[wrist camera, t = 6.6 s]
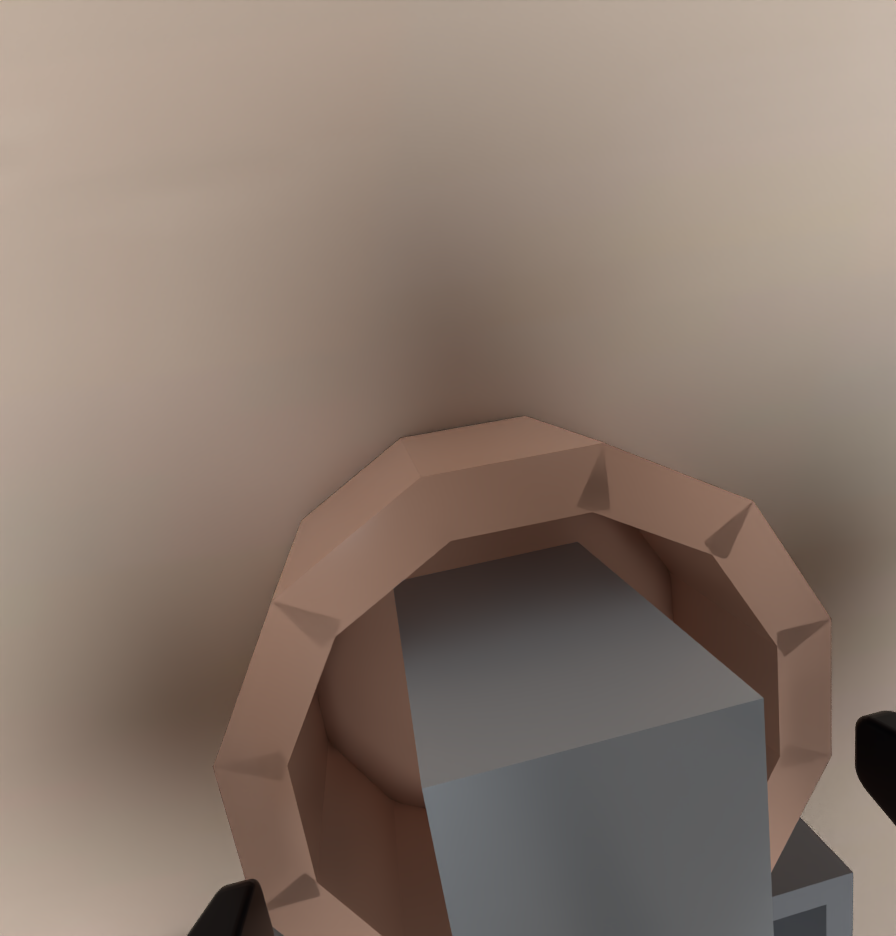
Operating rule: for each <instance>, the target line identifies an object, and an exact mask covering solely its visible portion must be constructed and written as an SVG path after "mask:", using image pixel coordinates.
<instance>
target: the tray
mask: <svg viewBox="0 0 896 936" xmlns="http://www.w3.org/2000/svg"><path fill="white" fill-rule="evenodd" d="M771 882H772V906H773V929H774V936H852V931H853V872H852V871H851V870H850V869H849V868H848V867H847V866H846V865H845V864H844V863H843V861H842V860H841V859H840V858H839V857H838V856H837V855H836V854H835V853H834V852H833V851H832V850H831V849H830V848H829V847H828V846H827V845H826V844H825V843H824V842H823V841H822V840H821V839H820V838H819V836H818V835H817V834H816V833H815V832H814V831H813V830H812V829H811V828H810V827H809V826H808V825H807V824H806V823H805V822H804V821H803V820H802V819H801V818H799V820H798V822H797V823H796V825H795V827H794V829H793V831H792V833H791V835H790V837H789V839H788V841H787V843H786V845H785V847H784V849H783V851H782V852H781V854H780V856H779V858H778V860H777V862H776V864H775V866H774V868H773V870H772V872H771ZM273 931H274V936H284V935H283V934H281V933H280V932H279V931H277V930H276V929H275V928H273Z"/></svg>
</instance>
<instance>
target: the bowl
mask: <svg viewBox="0 0 896 936" xmlns="http://www.w3.org/2000/svg"><path fill="white" fill-rule="evenodd" d="M574 542H579V543H580V544H581V545H582V546H583V547H584V548H586V549H587V550H588V551H589V552H590V553H592V554H593V555H594V556H595V557H596V558H598V559H599V560H600V561H601V562H602V563H604V564H605V565H606V566H607V567H608V568H609V569H611V570H612V571H613V572H614V573H615V574H617V575H618V576H619V577H620V578H621V579H623V580H624V581H625V582H626V583H627V584H629V585H630V586H631V587H632V588H633V589H634V590H636V591H637V592H638V593H639V594H640V595H642V596H643V597H644V598H645V599H646V600H648V601H649V602H650V603H651V604H652V605H654V606H655V607H656V608H657V609H658V610H659V611H661V612H662V613H663V614H664V615H665V616H667V617H668V618H669V619H670V620H671V621H673V622H674V623H675V624H676V625H677V626H679V627H680V628H681V629H682V630H683V631H684V632H686V633H687V634H688V635H689V636H690V637H692V638H693V639H694V640H695V641H696V642H698V643H699V644H700V645H701V646H702V647H704V648H705V649H706V650H707V651H708V652H709V653H711V654H712V655H713V656H714V657H715V658H717V659H718V660H719V661H720V662H721V663H723V664H724V665H725V666H726V667H727V668H729V669H730V670H731V671H732V672H733V673H734V674H736V675H737V676H738V677H739V678H740V679H742V680H743V681H744V682H745V683H746V684H748V685H749V686H750V687H751V688H752V689H754V690H755V691H756V692H757V693H758V694H759V695H761V696H762V697H763V698H764V718H765V742H766V765H767V789H768V812H769V836H770V859H771V872H772V870H773V868H774V866H775V864H776V862H777V860H778V858H779V856H780V854H781V852H782V851H783V849H784V847H785V845H786V843H787V841H788V839H789V837H790V835H791V833H792V831H793V829H794V827H795V825H796V823H797V822H798V820H799V818H800V816H801V814H802V812H803V810H804V808H805V806H806V804H807V802H808V800H809V798H810V796H811V795H812V793H813V791H814V789H815V787H816V785H817V783H818V781H819V779H820V777H821V775H822V773H823V771H824V769H825V767H826V766H827V764H828V762H829V760H830V758H831V756H832V746H831V618H830V616H829V614H828V613H827V611H826V610H825V608H824V607H823V605H822V604H821V602H820V601H819V599H818V598H817V596H816V595H815V593H814V592H813V590H812V589H811V587H810V586H809V584H808V583H807V581H806V580H805V578H804V577H803V575H802V574H801V572H800V571H799V569H798V568H797V566H796V565H795V563H794V562H793V560H792V558H791V557H790V555H789V554H788V552H787V551H786V549H785V548H784V546H783V545H782V543H781V542H780V540H779V539H778V537H777V536H776V534H775V533H774V531H773V530H772V528H771V527H770V525H769V524H768V522H767V521H766V519H765V518H764V516H763V515H762V513H761V512H760V510H759V509H758V507H757V506H756V504H755V502H754V501H753V500H750V499H747V498H744V497H742V496H739V495H737V494H734V493H732V492H729V491H726V490H724V489H721V488H719V487H716V486H714V485H711V484H708V483H706V482H703V481H701V480H698V479H696V478H693V477H691V476H688V475H685V474H683V473H680V472H678V471H675V470H673V469H670V468H667V467H665V466H662V465H660V464H657V463H655V462H652V461H649V460H647V459H644V458H642V457H639V456H637V455H634V454H631V453H629V452H626V451H624V450H621V449H619V448H616V447H613V446H611V445H608V444H606V443H604V442H601V441H598V440H595V439H592V438H589V437H586V436H583V435H580V434H577V433H574V432H571V431H568V430H565V429H562V428H560V427H557V426H554V425H551V424H548V423H545V422H542V421H539V420H536V419H533V418H530V417H527V416H521V417H516V418H510V419H504V420H499V421H493V422H487V423H482V424H476V425H471V426H465V427H459V428H454V429H448V430H442V431H437V432H431V433H425V434H420V435H414V436H408V437H403V438H400V439H399V440H398V441H396V442H395V443H394V444H393V445H392V446H390V447H389V448H388V449H387V450H386V451H384V452H383V453H382V454H381V455H380V456H378V457H377V458H376V459H375V460H374V461H372V462H371V463H370V464H369V465H368V466H366V467H365V468H364V469H363V470H362V471H360V472H359V473H358V474H357V475H356V476H354V477H353V478H352V479H351V480H350V481H348V482H347V483H346V484H345V485H343V486H342V487H341V488H340V489H339V490H337V491H336V492H335V493H334V494H333V495H331V496H330V497H329V498H328V499H327V500H325V501H324V502H323V503H322V504H321V505H319V506H318V507H317V508H316V509H315V510H313V511H312V512H311V513H310V514H309V515H307V516H306V517H305V518H304V519H303V520H301V522H300V525H299V528H298V530H297V533H296V536H295V539H294V541H293V544H292V547H291V549H290V552H289V555H288V557H287V560H286V563H285V566H284V568H283V571H282V574H281V576H280V579H279V582H278V584H277V587H276V590H275V593H274V595H273V598H272V601H271V604H270V607H269V610H268V613H267V615H266V618H265V621H264V624H263V627H262V630H261V632H260V635H259V638H258V641H257V644H256V647H255V649H254V652H253V655H252V658H251V661H250V664H249V667H248V669H247V672H246V675H245V678H244V681H243V684H242V686H241V689H240V692H239V695H238V698H237V701H236V703H235V706H234V709H233V712H232V715H231V718H230V720H229V723H228V726H227V729H226V732H225V735H224V738H223V740H222V743H221V746H220V749H219V752H218V754H217V757H216V760H215V763H214V765H213V769H214V772H215V776H216V779H217V783H218V786H219V789H220V793H221V796H222V800H223V803H224V807H225V810H226V814H227V817H228V821H229V824H230V827H231V831H232V834H233V838H234V841H235V845H236V848H237V852H238V855H239V859H240V862H241V866H242V869H243V872H244V876H245V879H246V880H248V879H256V880H258V882H259V883H260V885H261V888H262V891H263V895H264V898H265V902H266V906H267V909H268V913H269V916H270V920H271V923H272V927H273V928H275V929H276V930H277V931H279V932H280V933H281V934H283V935H284V936H452V932H451V927H450V922H449V918H448V913H447V908H446V903H445V898H444V893H443V889H442V884H441V879H440V874H439V869H438V864H437V860H436V855H435V850H434V845H433V840H432V835H431V831H430V826H429V821H428V816H427V811H426V806H425V802H424V797H423V792H422V786H421V779H420V772H419V765H418V758H417V751H416V744H415V737H414V730H413V723H412V716H411V709H410V702H409V695H408V688H407V681H406V674H405V667H404V660H403V653H402V646H401V639H400V632H399V625H398V618H397V611H396V604H395V597H394V589H393V588H395V587H396V586H397V585H398V584H399V583H401V582H402V581H403V580H405V579H409V578H414V577H418V576H423V575H428V574H432V573H437V572H441V571H446V570H450V569H455V568H460V567H464V566H469V565H473V564H478V563H482V562H487V561H492V560H496V559H501V558H505V557H510V556H514V555H519V554H524V553H528V552H533V551H537V550H542V549H547V548H551V547H556V546H560V545H565V544H569V543H574Z"/></svg>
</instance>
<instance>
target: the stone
mask: <svg viewBox="0 0 896 936" xmlns="http://www.w3.org/2000/svg"><path fill="white" fill-rule="evenodd" d="M393 589H394V597H395V604H396V611H397V618H398V625H399V632H400V639H401V646H402V653H403V660H404V667H405V674H406V681H407V688H408V695H409V702H410V709H411V716H412V723H413V730H414V737H415V744H416V751H417V758H418V765H419V772H420V779H421V786H422V792H423V797H424V802H425V806H426V811H427V816H428V821H429V826H430V831H431V835H432V840H433V845H434V850H435V855H436V860H437V864H438V869H439V874H440V879H441V884H442V889H443V893H444V898H445V903H446V908H447V913H448V918H449V922H450V927H451V932H452V936H774V929H773V906H772V882H771V859H770V836H769V812H768V789H767V765H766V742H765V718H764V698H763V697H762V696H761V695H759V694H758V693H757V692H756V691H755V690H754V689H752V688H751V687H750V686H749V685H748V684H746V683H745V682H744V681H743V680H742V679H740V678H739V677H738V676H737V675H736V674H734V673H733V672H732V671H731V670H730V669H729V668H727V667H726V666H725V665H724V664H723V663H721V662H720V661H719V660H718V659H717V658H715V657H714V656H713V655H712V654H711V653H709V652H708V651H707V650H706V649H705V648H704V647H702V646H701V645H700V644H699V643H698V642H696V641H695V640H694V639H693V638H692V637H690V636H689V635H688V634H687V633H686V632H684V631H683V630H682V629H681V628H680V627H679V626H677V625H676V624H675V623H674V622H673V621H671V620H670V619H669V618H668V617H667V616H665V615H664V614H663V613H662V612H661V611H659V610H658V609H657V608H656V607H655V606H654V605H652V604H651V603H650V602H649V601H648V600H646V599H645V598H644V597H643V596H642V595H640V594H639V593H638V592H637V591H636V590H634V589H633V588H632V587H631V586H630V585H629V584H627V583H626V582H625V581H624V580H623V579H621V578H620V577H619V576H618V575H617V574H615V573H614V572H613V571H612V570H611V569H609V568H608V567H607V566H606V565H605V564H604V563H602V562H601V561H600V560H599V559H598V558H596V557H595V556H594V555H593V554H592V553H590V552H589V551H588V550H587V549H586V548H584V547H583V546H582V545H581V544H580V543H579V542H574V543H569V544H565V545H560V546H556V547H551V548H547V549H542V550H537V551H533V552H528V553H524V554H519V555H514V556H510V557H505V558H501V559H496V560H492V561H487V562H482V563H478V564H473V565H469V566H464V567H460V568H455V569H450V570H446V571H441V572H437V573H432V574H428V575H423V576H418V577H414V578H409V579H405V580H403V581H402V582H401V583H399V584H398V585H397V586H396V587H395V588H393Z"/></svg>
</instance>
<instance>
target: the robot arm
mask: <svg viewBox="0 0 896 936" xmlns="http://www.w3.org/2000/svg"><path fill="white" fill-rule="evenodd" d="M855 769H856V773H857V775H858V778H859V780H860V782H861V783H862V785H863V787H864V788H865V789H866V791H867V792H868V793H869V794H870V796H871V797H872V798H873V799H874V800H875V801H876V803H877V804H878V805H879V806H880V807H881V809H882V810H883V811H884V812H885V813H886V815H887V816H888V817H889V818H890V819H891V821H892V822H893V823H894V824H895V825H896V712H893V711H880V712H877V713H873V714H869V715H865V716H862V717H860V718H859V719H858V721H857V722H856V727H855ZM187 936H274V931H273V927H272V923H271V920H270V916H269V913H268V909H267V906H266V902H265V898H264V895H263V891H262V888H261V885H260V883H259V882H258V880H256V879H248V880H244V881H240V882H236V883H233V884H229V885H226V886H224V887H222V888H221V889H220V890H219V891H218V892H217V893H216V894H215V896H214V897H213V899H212V900H211V901H210V903H209V904H208V906H207V907H206V909H205V910H204V912H203V913H202V915H201V916H200V917H199V919H198V920H197V922H196V923H195V925H194V926H193V928H192V929H191V930H190V932H189V933H188V935H187Z"/></svg>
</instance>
